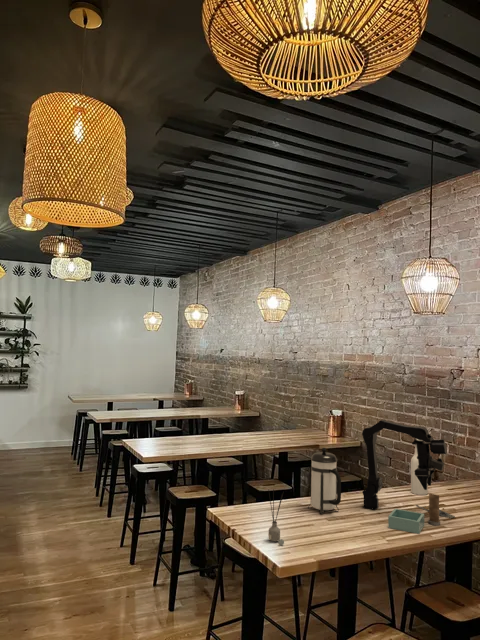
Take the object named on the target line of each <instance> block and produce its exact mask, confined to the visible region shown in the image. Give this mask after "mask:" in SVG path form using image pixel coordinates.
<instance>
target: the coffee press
mask: <svg viewBox="0 0 480 640" xmlns="http://www.w3.org/2000/svg"><path fill="white" fill-rule="evenodd" d="M310 460H311V464H310V465H311V466H310V504H309V505H308V506H307V508H308V509H309V510H311V509H312V508H314V509H316V510H319V515H324V511H331V510H334V511H335V512H336V513H339V511H340V509H339V507H338V506H339V504H341V501H342V477H341V475H340V473H339V471H338V466H337V462H338V458H337V457H336V455H335V454H333V453H332V452H327V448H326V447H322V449H321V451H317V452H314V453H313V454H312V455H311V457H310ZM310 506H311V507H310Z"/></svg>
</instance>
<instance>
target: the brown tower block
mask: <svg viewBox="0 0 480 640" xmlns="http://www.w3.org/2000/svg"><path fill="white" fill-rule="evenodd" d="M428 507H429V508H428V510H429V511H428V520H427V522H428V525H431V526H435V527H436V526H437V527H439V526H441V521H440V516H439V510H440V495H438V494H435V493H428Z"/></svg>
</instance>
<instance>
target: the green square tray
mask: <svg viewBox="0 0 480 640" xmlns="http://www.w3.org/2000/svg"><path fill="white" fill-rule="evenodd" d="M387 521H388V522H387V523H388V524H387V525H388V526H387V527H388V529H391V530H392V529H393V530H398V531H402V532H408V533H412V534H418V535H419V534H420V533H421V532H422V530H423V528H424V527H425V513H421V512H416V511H411V510H405V509H400V508H394V509H393V510H392V511H391V512H390V513H389V515H388V517H387Z"/></svg>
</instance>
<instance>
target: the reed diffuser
mask: <svg viewBox="0 0 480 640" xmlns="http://www.w3.org/2000/svg"><path fill="white" fill-rule="evenodd" d="M284 493H285V491H284V490H283V492H282V493H281V496H280V500H279V505H278V509H277V512H276V517H275V504H274V503H275V502H274V501H275V498H274V497H275V496H274V495H275V489H272V500H271V499H269V503H270V510H271V511H272V512H271V516H272V517H271V518H272V522H271V524H272V525H271V526H270V527H269V528H268V537H267V538H268V540H269V541H271V542H278V545H279V546H283V545H284V544H285V540H284V539H282V538H281V528H279V527H278V521H277V518H278V514H279V511H280V508H281V504H282V499H283V496H284ZM268 495H269V496H268V497H269V498H271V496H270V495H271V494H270V489H268ZM272 502H273V503H272ZM272 506H273V507H272Z"/></svg>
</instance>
